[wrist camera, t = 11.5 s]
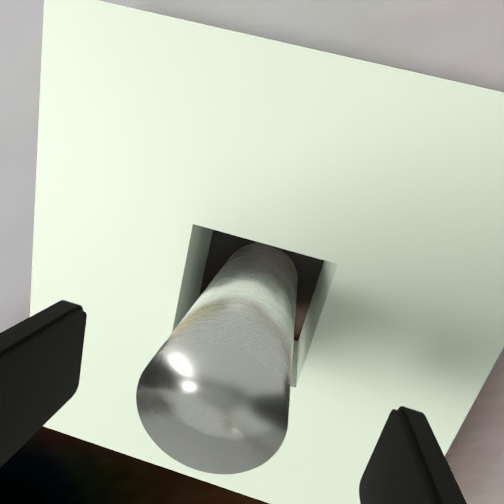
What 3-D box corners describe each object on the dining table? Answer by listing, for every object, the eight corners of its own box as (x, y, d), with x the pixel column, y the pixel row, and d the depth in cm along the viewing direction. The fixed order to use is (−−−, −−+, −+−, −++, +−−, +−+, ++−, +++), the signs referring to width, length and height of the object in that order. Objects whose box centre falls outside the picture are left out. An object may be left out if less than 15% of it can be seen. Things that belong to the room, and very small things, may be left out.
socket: (541, 130, 14) (626, 120, 11) (378, 473, 20) (395, 546, 16) (107, 28, 16) (44, -12, 12) (74, 374, 22) (25, 419, 18)
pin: (306, 254, 17) (308, 370, 8) (286, 321, 19) (265, 493, 9) (232, 234, 18) (147, 322, 8) (217, 301, 19) (127, 446, 9)
